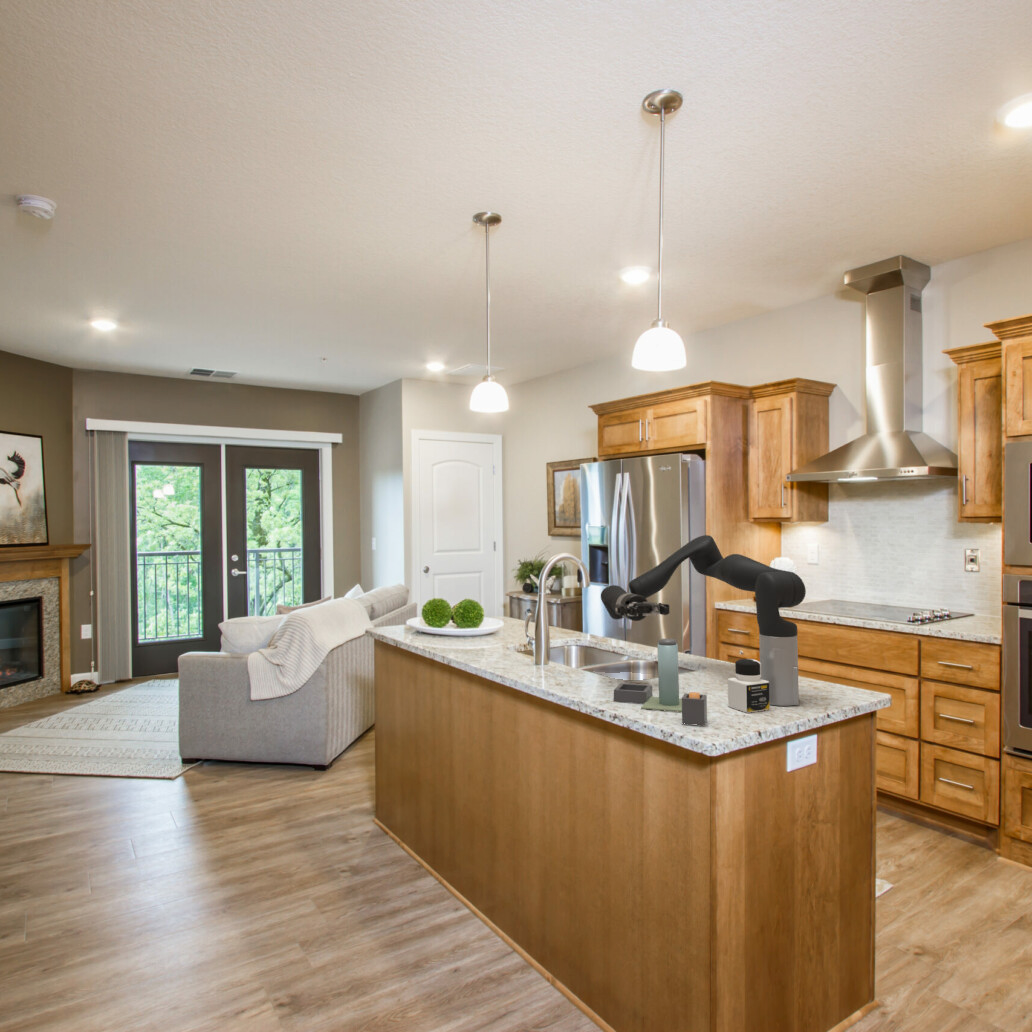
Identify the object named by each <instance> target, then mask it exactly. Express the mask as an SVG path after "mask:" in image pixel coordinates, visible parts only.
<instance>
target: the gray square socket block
mask: <svg viewBox="0 0 1032 1032" xmlns="http://www.w3.org/2000/svg"><path fill="white" fill-rule="evenodd" d="M707 696H708V695H707V694H700V699H697V698H689V693H684V694H683V695H682V698H681V699H682V713H681V724H682V723H683V724H684V723H685V724H697V725H705V726H706V724H707V722H706V721H708V710H707V709H708V705H707V704H708V699H707ZM705 723H706V724H705ZM683 724H682V725H683Z"/></svg>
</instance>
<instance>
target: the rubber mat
mask: <svg viewBox="0 0 1032 1032" xmlns="http://www.w3.org/2000/svg"><path fill="white" fill-rule="evenodd" d="M642 709H654V710H653V711H655V710H665V711H664V712H668V711H678V712H677V713H681V712H682V698H679V705H675V706H665V705H661V704H659V696H652V697H650V698H649V700H648V701H647V702H645V703H644V704H642V706H641V707H640V710H642Z"/></svg>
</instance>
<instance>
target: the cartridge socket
mask: <svg viewBox="0 0 1032 1032" xmlns="http://www.w3.org/2000/svg"><path fill="white" fill-rule="evenodd" d="M650 697H653V684H643V683H642V684H641V683H640V684H638V683H636V684H635V683H625V682H624V683H623V682H620V683H619V684H618V685H617V686H616V687H615V688H614V689H613V702H614V701H619V702H618V703H626V702H633V703H632V704H640V703H645V702H647V701H648V700H649V698H650Z"/></svg>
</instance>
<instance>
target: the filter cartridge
mask: <svg viewBox="0 0 1032 1032" xmlns="http://www.w3.org/2000/svg"><path fill="white" fill-rule="evenodd" d="M678 650H679V645H678V643H677V639H676V638H660V639H658V643H657V671H658V672H657V673H658V674H657V675H658V697H659V704H661V705H665V706H675V705H679V699H680V682H679V681H680V679H679V651H678Z"/></svg>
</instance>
